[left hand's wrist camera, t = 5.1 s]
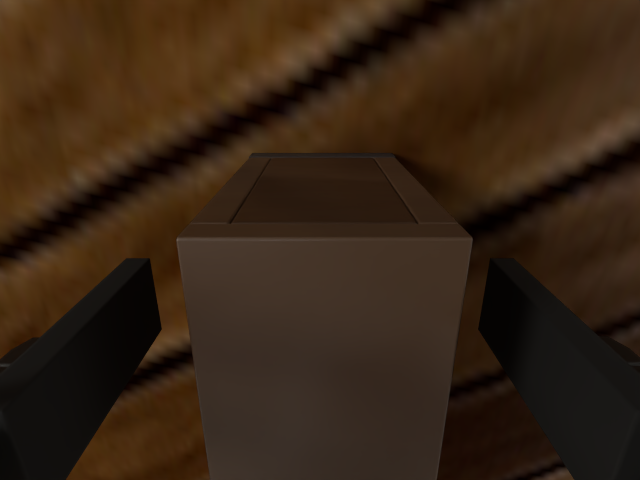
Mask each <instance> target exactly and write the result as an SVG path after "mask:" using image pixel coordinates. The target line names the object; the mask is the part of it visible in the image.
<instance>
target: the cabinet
mask: <svg viewBox="0 0 640 480" xmlns="http://www.w3.org/2000/svg"><path fill="white" fill-rule="evenodd" d="M176 242H177V249H178V256H179V263H180V270H181V277H182V284H183V291H184V298H185V305H186V312H187V319H188V326H189V333H190V340H191V347H192V354H193V361H194V368H195V375H196V382H197V389H198V396H199V404H200V411H201V418H202V425H203V432H204V439H205V446H206V453H207V460H208V467H209V474H210V480H437V474H438V467H439V460H440V454H441V447H442V441H443V434H444V427H445V421H446V414H447V407H448V401H449V394H450V388H451V381H452V374H453V368H454V361H455V354H456V348H457V341H458V335H459V328H460V321H461V315H462V308H463V301H464V295H465V288H466V281H467V275H468V268H469V262H470V255H471V248H472V242H473V239H472V237H471V236H470V235H469V234H468V233H467V232H466V231H465V230H464V228H463V227H462V226H461V225H459V224H458V222H457V221H456V220H455V219H454V218H453V217H452V216H451V215H450V214H449V213H448V212H447V211H446V210H445V209H444V208H443V207H442V206H441V205H440V204H439V203H438V202H437V201H436V200H435V199H434V197H433V196H432V195H431V194H430V193H429V192H428V191H427V190H426V189H425V188H424V187H423V186H422V185H421V184H420V183H419V182H418V181H417V180H416V179H415V178H414V177H413V176H412V175H411V174H410V173H409V172H408V171H407V170H406V169H405V168H404V166H403V165H402V164H401V163H400V162H399V161H398V160H397V159H396V157H395V156H394V155H393V154H392V153H252V154H251V155H250V156H249V159H248V160H247V161H246V162H245V163H244V165H243V166H242V167H241V168H240V169H239V170H238V171H237V172H236V173H235V174H234V175H233V177H232V178H231V179H230V180H229V181H228V182H227V183H226V184H225V185H224V186H223V187H222V189H221V190H220V191H219V192H218V193H217V194H216V195H215V196H214V197H213V198H212V200H211V201H210V202H209V203H208V204H207V205H206V206H205V207H204V208H203V209H202V210H201V212H200V213H199V214H198V215H197V216H196V217H195V218H194V219H193V220H192V221H191V223H190V224H189V225H188V226H187V227H186V228H185V229H184V230H183V231H182V232H181V233H180V235H179V236H178V237H177V239H176Z"/></svg>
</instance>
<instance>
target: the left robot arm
mask: <svg viewBox="0 0 640 480" xmlns="http://www.w3.org/2000/svg"><path fill="white" fill-rule="evenodd" d="M161 330H162V328H161V322H160V316H159V310H158V304H157V298H156V293H155V287H154V281H153V275H152V269H151V263H150V258H126V259H125V260H124V261H123V262H122V263H121V264H120V265H119V266H118V267H117V268H116V269H114V270H113V271H112V272H111V273H110V274H109V275H108V276H107V277H106V278H105V279H103V280H102V281H101V282H100V283H99V284H98V285H97V286H96V287H95V288H94V289H93V290H91V291H90V292H89V293H88V294H87V295H86V296H85V297H84V298H83V299H82V300H81V301H79V302H78V303H77V304H76V305H75V306H74V307H73V308H72V309H71V310H70V311H68V312H67V313H66V314H65V315H64V316H63V317H62V318H61V319H60V320H59V321H58V322H56V323H55V324H54V325H53V326H52V327H51V328H50V329H49V330H48V331H47V332H46V333H44V334H43V335H42V336H41V337H40V338H32V339H30V340H28V341H26V342H24V343H23V344H21V345H19V346H17V347H15V348H14V349H12V350H10V351H9V352H8V353H7V354H6V355H5V356H4V357H2V358H1V359H0V480H66V478H67V477H68V475H69V474H70V472H71V470H72V469H73V467H74V466H75V464H76V463H77V461H78V460H79V458H80V456H81V455H82V453H83V452H84V450H85V449H86V447H87V445H88V444H89V442H90V441H91V439H92V438H93V436H94V434H95V433H96V431H97V430H98V428H99V427H100V425H101V424H102V422H103V420H104V419H105V417H106V416H107V414H108V413H109V411H110V409H111V408H112V406H113V405H114V403H115V402H116V400H117V398H118V397H119V395H120V394H121V392H122V391H123V389H124V388H125V386H126V384H127V383H128V381H129V380H130V378H131V377H132V375H133V373H134V372H135V370H136V369H137V367H138V366H139V364H140V362H141V361H142V359H143V358H144V356H145V355H146V353H147V351H148V350H149V348H150V347H151V345H152V344H153V342H154V341H155V339H156V337H157V336H158V334H159V333H160V331H161ZM478 330H479V331H480V333H481V334H482V336H483V337H484V339H485V341H486V342H487V344H488V345H489V347H490V348H491V350H492V351H493V353H494V355H495V356H496V358H497V359H498V361H499V362H500V364H501V366H502V367H503V369H504V370H505V372H506V373H507V375H508V377H509V378H510V380H511V381H512V383H513V384H514V386H515V387H516V389H517V391H518V392H519V394H520V395H521V397H522V398H523V400H524V402H525V403H526V405H527V406H528V408H529V409H530V411H531V413H532V414H533V416H534V417H535V419H536V420H537V422H538V424H539V425H540V427H541V428H542V430H543V431H544V433H545V434H546V436H547V438H548V439H549V441H550V442H551V444H552V445H553V447H554V449H555V450H556V452H557V453H558V455H559V456H560V458H561V460H562V461H563V463H564V464H565V466H566V467H567V469H568V470H569V472H570V474H571V475H572V477H573V478H574V480H640V357H639V356H637V355H636V354H635V353H634V352H633V351H632V350H630V349H629V348H627V347H626V346H624V345H622V344H620V343H618V342H617V341H615V340H613V339H611V338H609V337H608V336H598V335H597V334H596V333H594V332H593V331H592V330H591V329H590V328H589V327H588V326H587V325H586V324H585V323H584V322H582V321H581V320H580V319H579V318H578V317H577V316H576V315H575V314H574V313H573V312H572V311H570V310H569V309H568V308H567V307H566V306H565V305H564V304H563V303H562V302H561V301H559V300H558V299H557V298H556V297H555V296H554V295H553V294H552V293H551V292H550V291H549V290H547V289H546V288H545V287H544V286H543V285H542V284H541V283H540V282H539V281H538V280H537V279H535V278H534V277H533V276H532V275H531V274H530V273H529V272H528V271H527V270H526V269H525V268H523V267H522V266H521V265H520V264H519V263H518V262H517V261H516V260H515V259H514V258H490V263H489V269H488V275H487V281H486V287H485V293H484V298H483V304H482V310H481V316H480V322H479V328H478Z"/></svg>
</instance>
